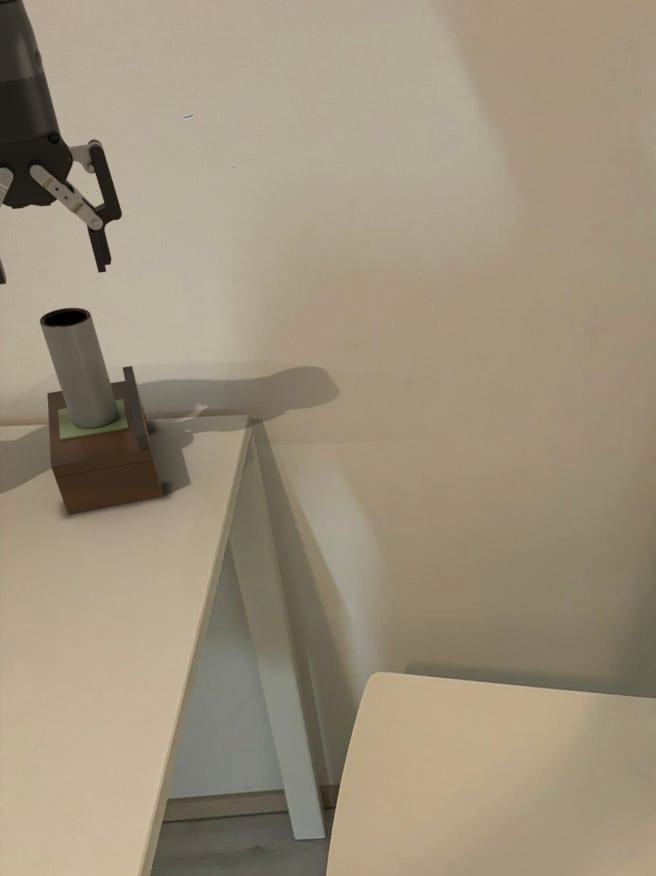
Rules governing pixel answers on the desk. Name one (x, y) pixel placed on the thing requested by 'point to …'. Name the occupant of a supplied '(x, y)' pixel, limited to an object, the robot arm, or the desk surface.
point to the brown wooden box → (103, 453)
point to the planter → (80, 366)
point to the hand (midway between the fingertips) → (52, 275)
